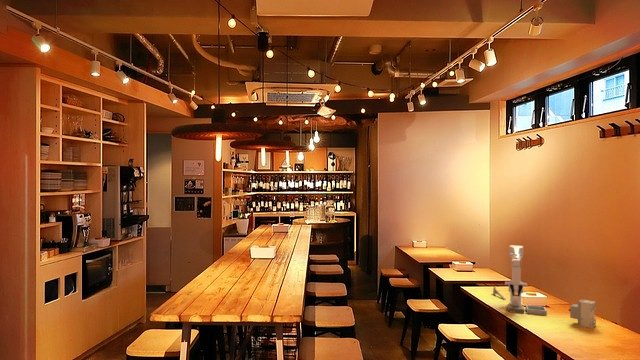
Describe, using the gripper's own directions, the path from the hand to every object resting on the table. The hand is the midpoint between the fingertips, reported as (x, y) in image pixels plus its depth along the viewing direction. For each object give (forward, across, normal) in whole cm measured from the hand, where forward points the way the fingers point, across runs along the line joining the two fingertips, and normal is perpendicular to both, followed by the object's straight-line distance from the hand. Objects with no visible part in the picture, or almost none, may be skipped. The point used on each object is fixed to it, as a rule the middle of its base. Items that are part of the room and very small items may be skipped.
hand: (515, 295), depth 334 cm
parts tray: (+10, +13, 0) cm, 16 cm away
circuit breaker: (+10, +37, -21) cm, 44 cm away
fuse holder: (+10, 0, 0) cm, 10 cm away
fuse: (+3, 0, 0) cm, 3 cm away
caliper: (+11, -9, +40) cm, 42 cm away
